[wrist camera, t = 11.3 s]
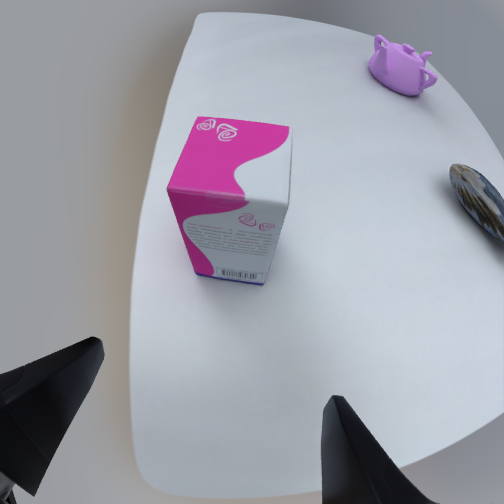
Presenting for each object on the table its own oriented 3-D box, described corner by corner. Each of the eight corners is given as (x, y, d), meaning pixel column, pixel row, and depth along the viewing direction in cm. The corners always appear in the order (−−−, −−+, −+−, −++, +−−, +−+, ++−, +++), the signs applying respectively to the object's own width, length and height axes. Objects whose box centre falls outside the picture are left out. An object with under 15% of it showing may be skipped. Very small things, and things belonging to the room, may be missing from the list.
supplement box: (272, 223, 25) (297, 124, 14) (263, 287, 22) (291, 212, 12) (208, 213, 25) (196, 112, 14) (193, 275, 22) (161, 193, 12)
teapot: (417, 81, 41) (432, 51, 33) (424, 112, 36) (445, 76, 28) (366, 57, 42) (378, 25, 34) (363, 83, 37) (379, 42, 29)
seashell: (460, 266, 24) (488, 248, 20) (428, 175, 29) (448, 151, 25) (516, 261, 26) (538, 248, 21) (489, 189, 30) (507, 172, 26)
